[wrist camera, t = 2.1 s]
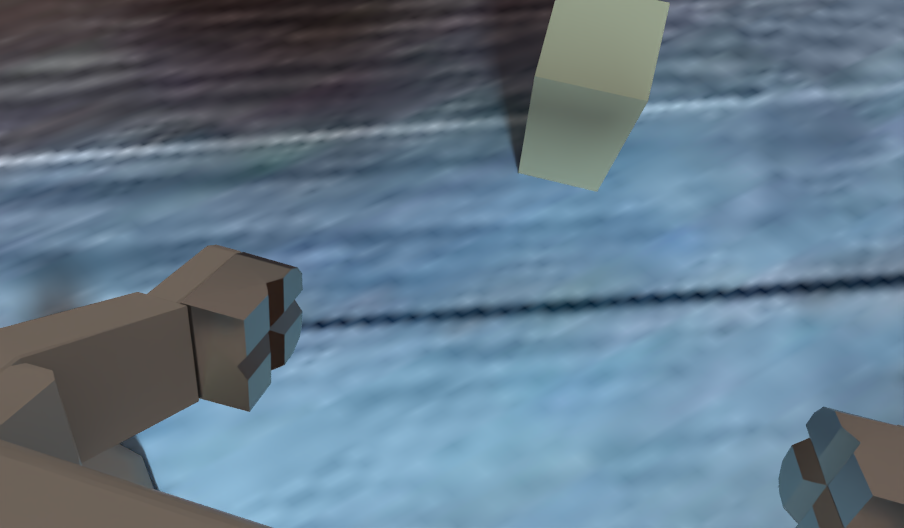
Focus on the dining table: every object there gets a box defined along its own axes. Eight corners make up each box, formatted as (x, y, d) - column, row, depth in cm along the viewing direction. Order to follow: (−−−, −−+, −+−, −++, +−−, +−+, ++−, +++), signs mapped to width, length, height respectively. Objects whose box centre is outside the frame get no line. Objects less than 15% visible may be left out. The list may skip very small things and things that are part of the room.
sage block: (518, 172, 29) (534, 76, 21) (537, 102, 30) (560, -20, 21) (597, 191, 29) (647, 101, 20) (613, 119, 30) (669, 3, 21)
